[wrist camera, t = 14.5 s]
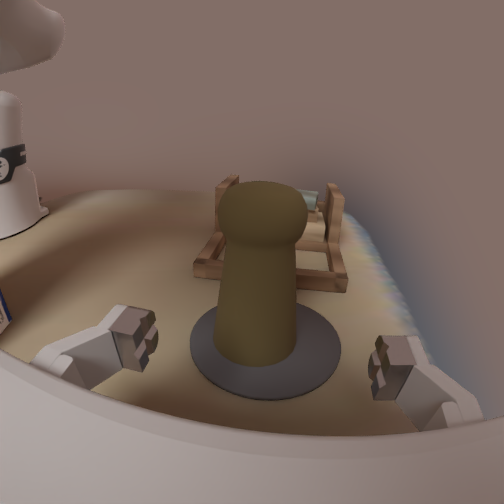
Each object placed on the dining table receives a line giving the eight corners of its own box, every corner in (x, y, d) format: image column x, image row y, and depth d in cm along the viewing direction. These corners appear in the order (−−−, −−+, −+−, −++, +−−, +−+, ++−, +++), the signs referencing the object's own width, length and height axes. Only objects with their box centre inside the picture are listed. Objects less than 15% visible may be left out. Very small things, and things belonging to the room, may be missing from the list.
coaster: (159, 343, 20) (158, 340, 20) (252, 286, 28) (253, 283, 28) (287, 429, 14) (288, 427, 14) (361, 332, 22) (362, 329, 22)
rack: (345, 292, 28) (359, 223, 25) (193, 276, 29) (191, 208, 26) (328, 227, 44) (334, 182, 41) (231, 218, 46) (232, 173, 43)
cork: (201, 322, 22) (197, 177, 18) (271, 306, 25) (282, 173, 20) (232, 377, 18) (235, 202, 13) (312, 351, 20) (340, 195, 15)
